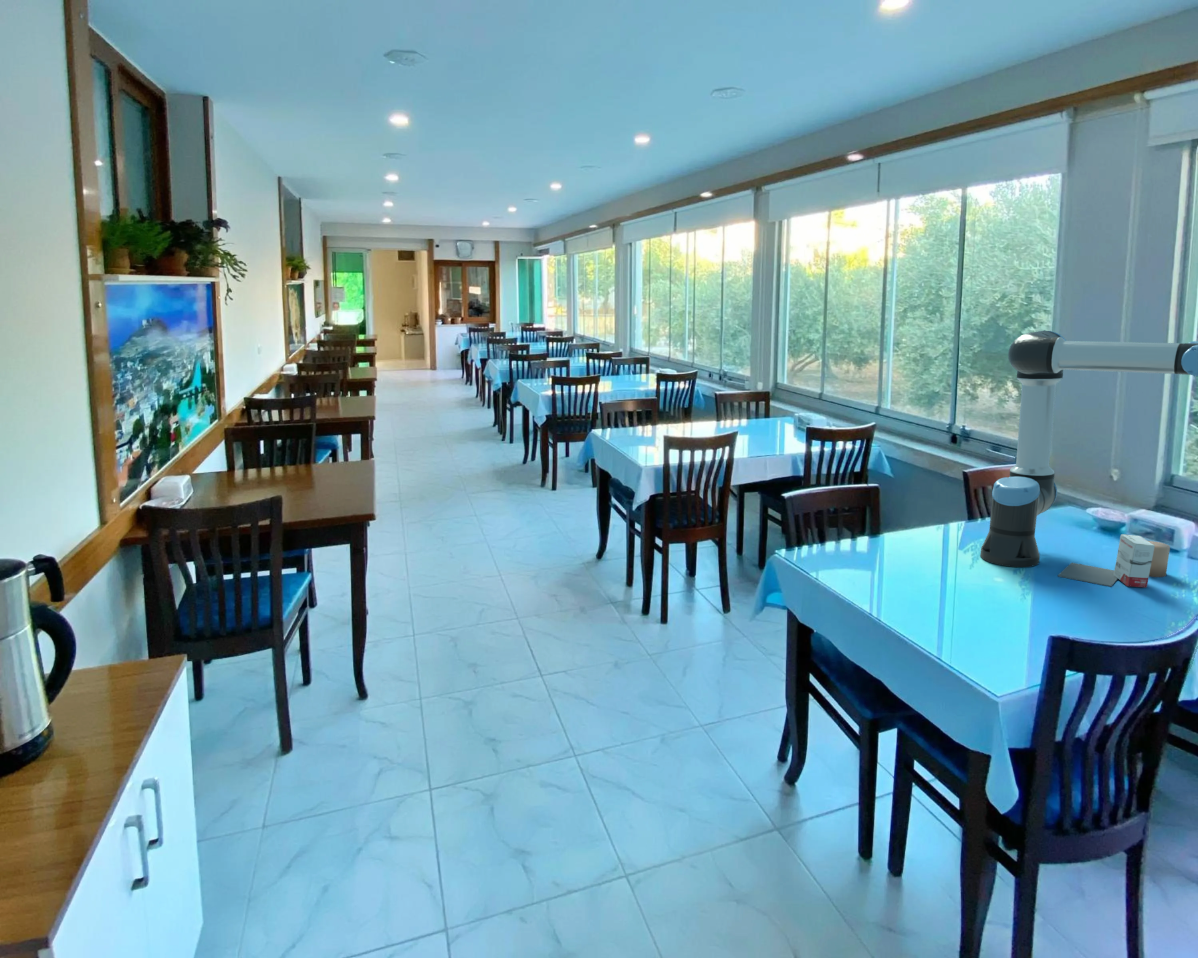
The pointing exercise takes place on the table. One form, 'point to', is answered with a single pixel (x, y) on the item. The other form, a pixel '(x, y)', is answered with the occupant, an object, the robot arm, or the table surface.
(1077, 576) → the slate mat
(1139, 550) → the ink box
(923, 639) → the table surface
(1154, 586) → the table surface
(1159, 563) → the beige domed cylinder
